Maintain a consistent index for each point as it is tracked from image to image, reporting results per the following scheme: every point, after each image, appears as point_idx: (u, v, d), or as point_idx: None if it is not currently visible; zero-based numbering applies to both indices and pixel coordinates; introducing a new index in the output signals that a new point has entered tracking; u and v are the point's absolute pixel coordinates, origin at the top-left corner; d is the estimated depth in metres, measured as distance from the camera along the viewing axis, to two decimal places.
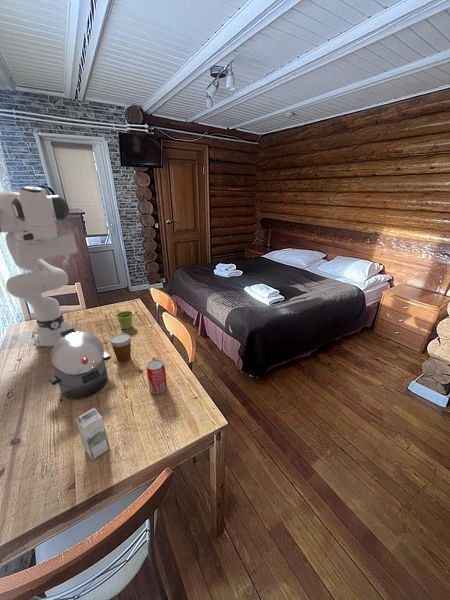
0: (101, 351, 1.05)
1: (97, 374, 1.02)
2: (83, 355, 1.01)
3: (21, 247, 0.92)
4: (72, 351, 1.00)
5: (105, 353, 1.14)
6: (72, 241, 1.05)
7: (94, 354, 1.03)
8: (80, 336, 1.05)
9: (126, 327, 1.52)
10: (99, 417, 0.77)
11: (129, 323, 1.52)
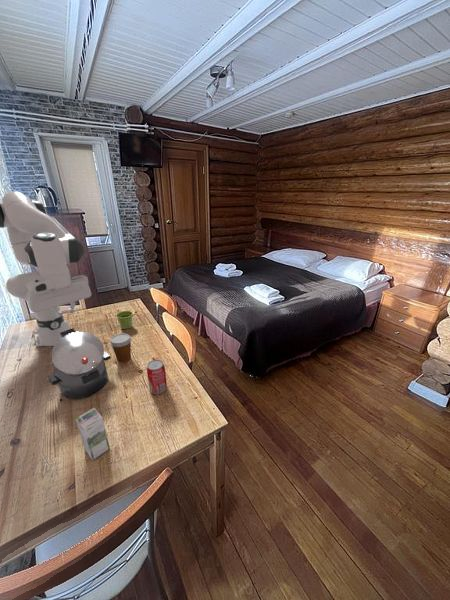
0: (101, 351, 1.05)
1: (97, 374, 1.02)
2: (83, 355, 1.01)
3: (33, 298, 0.86)
4: (72, 351, 1.00)
5: (105, 353, 1.14)
6: (86, 286, 0.98)
7: (94, 354, 1.03)
8: (80, 336, 1.05)
9: (126, 327, 1.52)
10: (99, 417, 0.77)
11: (129, 323, 1.52)
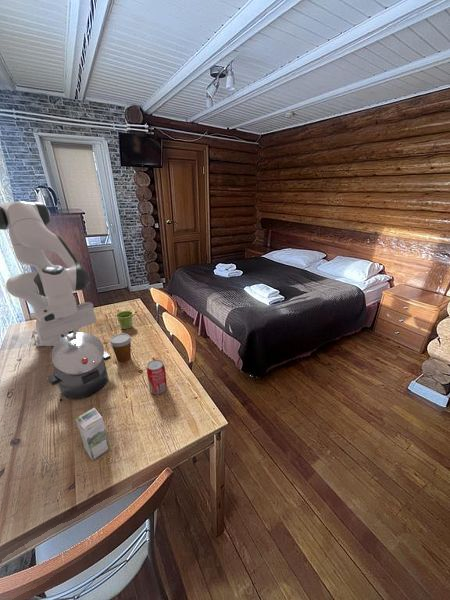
0: (101, 351, 1.05)
1: (97, 374, 1.02)
2: (83, 355, 1.01)
3: (42, 328, 0.91)
4: (72, 351, 1.00)
5: (105, 353, 1.14)
6: (91, 312, 1.03)
7: (94, 354, 1.03)
8: (80, 336, 1.05)
9: (126, 327, 1.52)
10: (99, 417, 0.77)
11: (129, 323, 1.52)
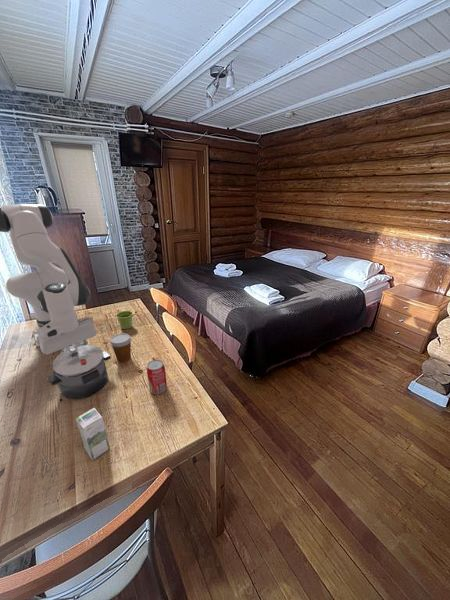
0: (100, 354, 1.07)
1: (97, 374, 1.02)
2: None
3: (45, 343, 0.96)
4: (72, 358, 1.04)
5: (105, 353, 1.14)
6: (92, 326, 1.08)
7: (93, 357, 1.05)
8: (80, 348, 1.10)
9: (126, 327, 1.52)
10: (99, 417, 0.77)
11: (129, 323, 1.52)
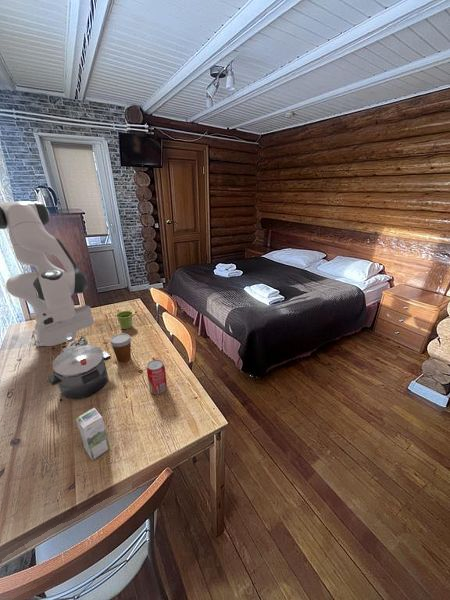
0: (100, 354, 1.07)
1: (97, 374, 1.02)
2: None
3: (41, 331, 0.94)
4: (72, 358, 1.04)
5: (105, 353, 1.14)
6: (89, 315, 1.07)
7: (93, 357, 1.05)
8: (80, 348, 1.10)
9: (126, 327, 1.52)
10: (99, 417, 0.77)
11: (129, 323, 1.52)
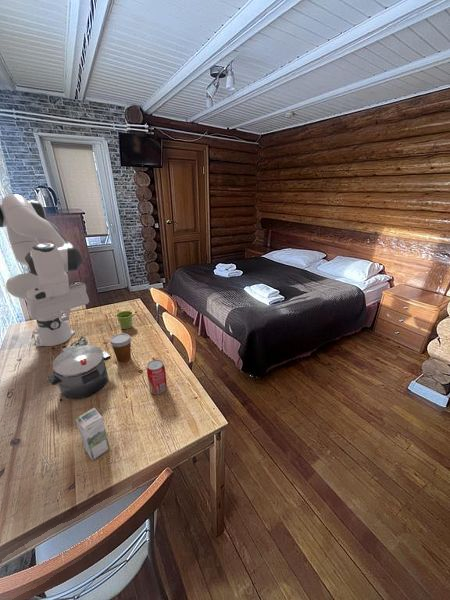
0: (100, 354, 1.07)
1: (97, 374, 1.02)
2: None
3: (33, 306, 0.90)
4: (72, 358, 1.04)
5: (105, 353, 1.14)
6: (84, 293, 1.02)
7: (93, 357, 1.05)
8: (80, 348, 1.10)
9: (126, 327, 1.52)
10: (99, 417, 0.77)
11: (129, 323, 1.52)
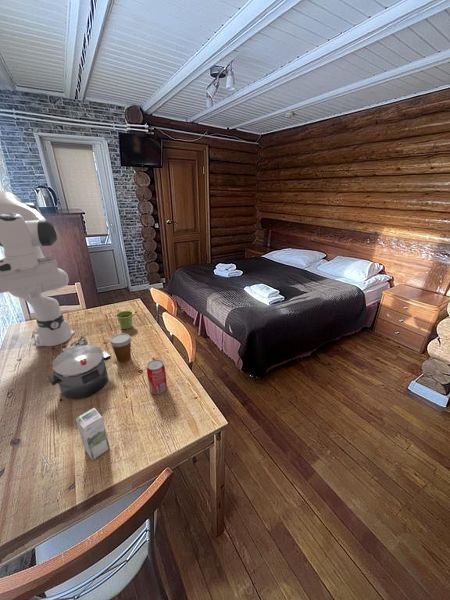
0: (100, 354, 1.07)
1: (97, 374, 1.02)
2: None
3: None
4: (72, 358, 1.04)
5: (105, 353, 1.14)
6: (54, 268, 0.98)
7: (93, 357, 1.05)
8: (80, 348, 1.10)
9: (126, 327, 1.52)
10: (99, 417, 0.77)
11: (129, 323, 1.52)
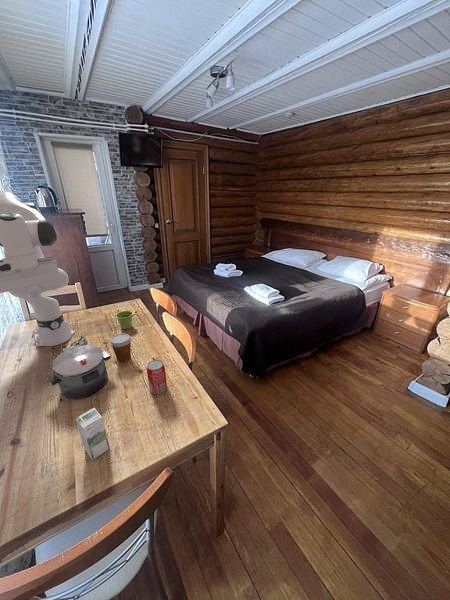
0: (100, 354, 1.07)
1: (97, 374, 1.02)
2: None
3: None
4: (72, 358, 1.04)
5: (105, 353, 1.14)
6: (54, 268, 0.98)
7: (93, 357, 1.05)
8: (80, 348, 1.10)
9: (126, 327, 1.52)
10: (99, 417, 0.77)
11: (129, 323, 1.52)
